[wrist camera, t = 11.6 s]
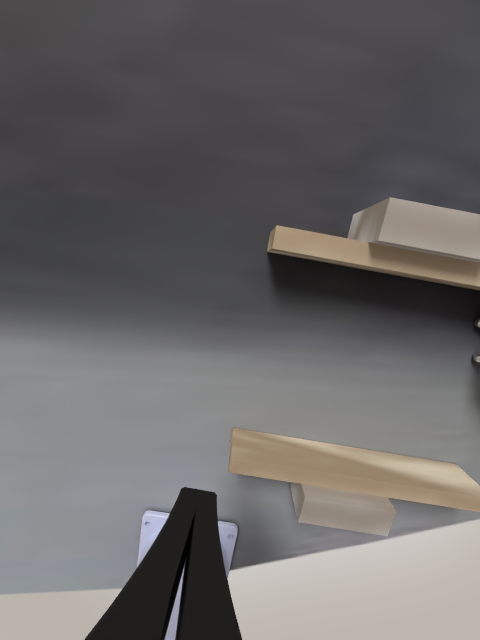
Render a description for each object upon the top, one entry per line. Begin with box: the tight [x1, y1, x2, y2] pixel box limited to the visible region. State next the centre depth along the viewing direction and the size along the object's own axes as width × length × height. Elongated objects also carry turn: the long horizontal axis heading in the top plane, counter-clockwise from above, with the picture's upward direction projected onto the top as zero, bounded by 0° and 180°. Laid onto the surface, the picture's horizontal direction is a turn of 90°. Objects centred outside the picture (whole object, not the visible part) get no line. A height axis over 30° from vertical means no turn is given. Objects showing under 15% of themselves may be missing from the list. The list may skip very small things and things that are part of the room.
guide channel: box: [228, 197, 480, 536], centre depth 16 cm, size 20×18×4 cm
